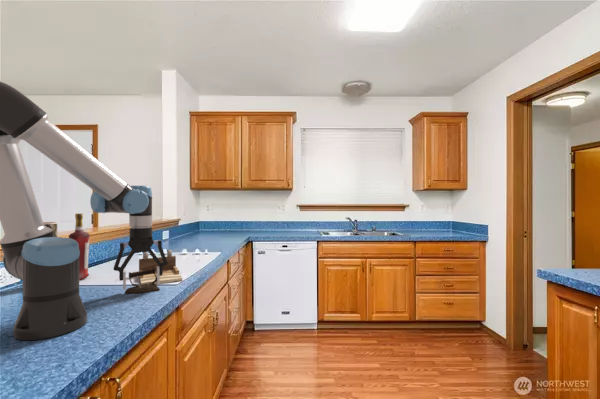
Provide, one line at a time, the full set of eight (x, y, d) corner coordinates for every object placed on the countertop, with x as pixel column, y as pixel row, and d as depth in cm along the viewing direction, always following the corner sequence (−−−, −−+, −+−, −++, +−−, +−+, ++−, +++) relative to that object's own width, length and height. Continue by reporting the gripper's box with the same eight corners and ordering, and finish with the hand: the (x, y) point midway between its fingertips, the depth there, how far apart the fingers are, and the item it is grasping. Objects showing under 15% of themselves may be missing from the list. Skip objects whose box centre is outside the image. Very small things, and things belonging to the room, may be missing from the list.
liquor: (67, 278, 132) (67, 213, 132) (88, 275, 137) (87, 213, 137) (69, 282, 126) (69, 214, 126) (91, 278, 131) (90, 213, 131)
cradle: (182, 280, 128) (182, 256, 128) (141, 286, 120) (141, 260, 120) (175, 270, 145) (175, 249, 145) (139, 275, 138) (138, 252, 138)
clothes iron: (162, 291, 115) (155, 266, 113) (128, 304, 108) (121, 279, 106) (157, 285, 120) (150, 262, 118) (125, 297, 114) (118, 273, 111)
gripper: (172, 224, 123) (173, 279, 123) (105, 228, 111) (105, 288, 112) (175, 226, 116) (176, 284, 117) (103, 229, 105) (104, 294, 105)
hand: (141, 286), depth 114 cm, fingers closed on clothes iron, 10 cm apart
